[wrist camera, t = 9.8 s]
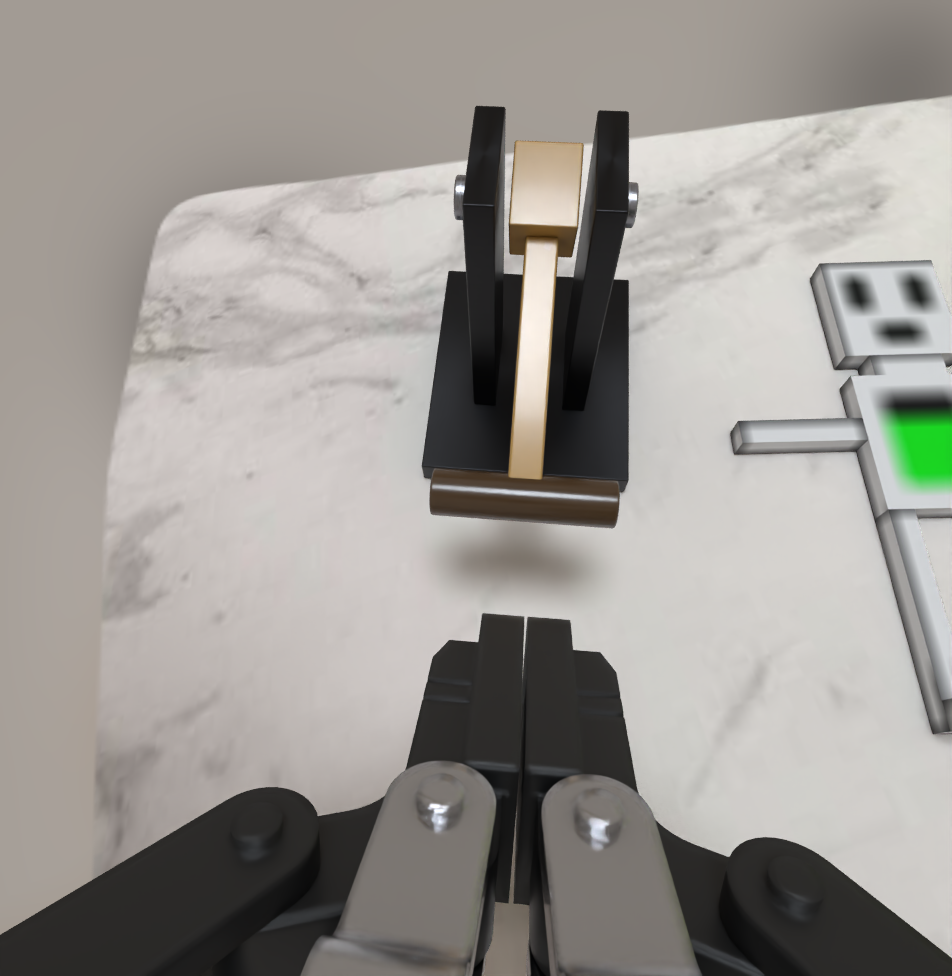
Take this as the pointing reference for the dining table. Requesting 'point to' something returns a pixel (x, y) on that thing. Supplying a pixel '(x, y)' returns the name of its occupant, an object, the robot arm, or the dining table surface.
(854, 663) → the dining table surface
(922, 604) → the robot figure
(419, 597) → the dining table surface
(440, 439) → the bracket
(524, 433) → the lock lever
